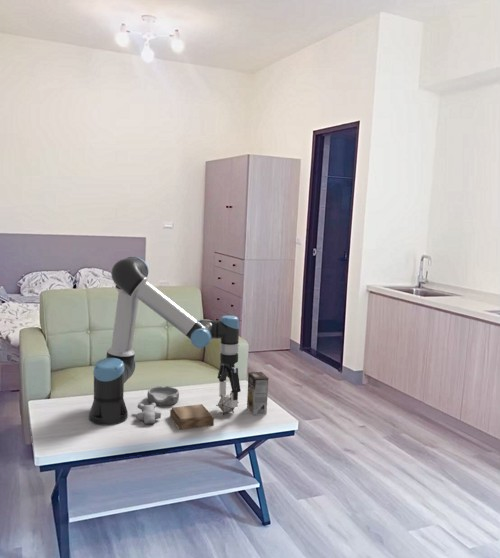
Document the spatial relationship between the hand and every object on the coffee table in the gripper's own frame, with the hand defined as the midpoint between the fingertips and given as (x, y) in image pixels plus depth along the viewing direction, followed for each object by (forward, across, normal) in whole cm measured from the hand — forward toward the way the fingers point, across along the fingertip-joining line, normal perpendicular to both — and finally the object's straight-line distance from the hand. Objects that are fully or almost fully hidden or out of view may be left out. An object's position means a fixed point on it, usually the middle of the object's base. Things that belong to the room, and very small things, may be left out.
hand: (228, 401), depth 229 cm
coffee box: (+5, -2, -13) cm, 14 cm away
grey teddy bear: (+5, +4, +33) cm, 34 cm away
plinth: (+5, -4, +17) cm, 18 cm away
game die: (+5, 0, 0) cm, 5 cm away
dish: (+5, +22, +22) cm, 32 cm away
